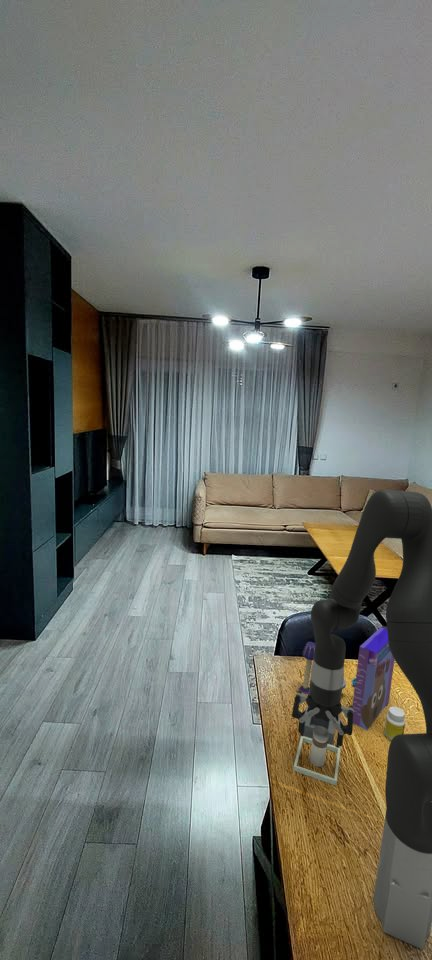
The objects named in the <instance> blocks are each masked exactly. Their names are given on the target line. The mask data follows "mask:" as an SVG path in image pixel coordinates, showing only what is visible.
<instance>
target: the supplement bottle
mask: <svg viewBox="0 0 432 960" xmlns="http://www.w3.org/2000/svg"><path fill="white" fill-rule="evenodd" d="M387 712H388V713H387V714H386V717H385V724H384V731H383V735H384V737H385V739H387V740H388V741H390V742H391V741H392V739H393V738H394V737H395V736H397V735H401V734H405V728H406V727H405V726H406V720H405V718H406V717H405V714H406V713H405V711H404V710H403V709H402V708H400V707H397V706H391V707H388V711H387Z"/></svg>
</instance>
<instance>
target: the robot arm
mask: <svg viewBox="0 0 432 960" xmlns="http://www.w3.org/2000/svg"><path fill="white" fill-rule="evenodd" d="M385 539H397V540H398V539H400V540H401V543H402V545H401V546H402V547H401V548H402V567H401V572H400V575H399V576H398V579H397V582H396V583H395V585H394V588H393V590H392V591H391V594H390V596H389V598H388V601H387V602H388V603H387V605H386V610H385V621H386V627H387V632H388V642H389V648H390V651H391V653H392V655H393V657H394V659H395V660H394V662H396V665H397V666H398V667H399V669H400V670H401V671H402V672H401V673H403V674H404V676H405V678H406V679H407V681H408V682H409V683H410V684H411V686H412V688H413V690H414V692H415V693H416V695H417V697H418V699H419V701H420V704H421V707H422V711H423V716H424V721H425V729H426V730H425V731H426V733H425V732H423V733H422V732H421V733H406V734H405V733H404V734H401V735H397V736H395V737H394V738H393V739H392V741H390V743H389V747H388V752H387V759H386V760H387V764H386V777H385V786H384V789H385V790H384V794H385V796H384V797H385V807H386V808H385V815H384V823H383V831H382V837H381V844H380V850H379V851H380V852H379V857H378V858H379V859H378V865H377V869H376V870H377V872H376V878H375V885H374V893H373V906H374V909H375V912H376V915H377V917H378V919H379V921H380V922H381V925H382V931H383V933H384V934H387V935H389V936H392V937H393V938H395V939H398V940H400V941H402V942H405V943H407V944H409V945H412V946H413V947H416V948H418V949H420V950H424V948H425V942H426V940H427V939H428V938H429V936H430V934H431V929H432V505H431V502H430V501H429V498H428V497H426V495H424V494H423V493H421V492H418V491H417V492H416V491H408V490H397V489H379V490H377V491H375V492H374V493H372V495H371V496H370V497H369V498H368V500H367V501H366V504H365V506H364V508H363V511H362V513H361V517H360V519H359V522H358V526H357V529H356V531H355V535H354V537H353V540H352V544H351V547H350V550H349V553H348V556H347V558H346V561H345V563H344V565H343V566H342V568H341V569H340V572H339V573H338V575H337V577H336V579H335V580H334V582H333V583H332V586H331V589H330V590H331V591H330V593H331V596H332V598H329V599H328V598H327V599H319V600H317V601H316V602H314V604H313V605H312V608H311V610H310V619H311V620H310V621H311V624H312V628H313V629H312V630H313V638H314V643H315V651H314V660H312V665H311V670H310V671H311V673H310V678H309V686H308V687H309V694H303V693H301V692H300V691H299V690H297V691H296V693H295V697H294V700H293V708H292V713H291V717H292V718H293V719H297V720H298V728H297V731H298V733H299V734H300V735H299V736H300V737H301V736H303V735H304V730H305V721H306V720H307V719H310V718H311V717H312V716H315V718H318V719H323V720H325V721H328V722H329V721H331V723H332V724H333V726H334V727H335V730H336V731H337V735H336V742H335V743H336V744H335V746H336V747H337V748H340V747H342V746H343V741H344V736H345V735H348V736H353V728H354V724H353V713H354V708H353V705H349V706H344V705H342V703H341V702H342V696H343V695H342V693H343V690H342V687H343V681H344V680H345V676H344V675H345V662H346V661H345V659H346V651H347V647H346V642H345V641H344V639H343V638H342V637H340V636H338V635H336V634H332V632H334V631H342V630H343V631H344V630H348V629H350V628H351V629H352V628H353V627H354V626H355V625H356V624H357V623H358V620H359V619H360V613H361V609H362V605H363V604H362V603H363V601H364V599H365V598H366V596H367V595H368V594H369V592H370V590H371V589H372V588H373V585H374V583H375V581H376V574H377V568H376V567H377V566H376V563H375V562H376V561H375V552H376V550H377V548H378V547H379V546H380V544H381V543H382V541H384V540H385ZM304 702H305V703H306V705H307V707H306V708H305V709H304V710H303V711H300V705H303V703H304ZM341 713H343V715H344V717H345V718H346V719H347V720H346V721H347V722H346V724H344V722H343V721H342V719H341V716H340V714H341Z"/></svg>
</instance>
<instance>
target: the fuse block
mask: <svg viewBox="0 0 432 960" xmlns="http://www.w3.org/2000/svg"><path fill="white" fill-rule="evenodd" d="M316 726H322V727H324V728H326V729H327V730H328V732H329V738H328V744H330V745H333V744H334V738H335V731H336V728H335V727H334V726H333V724H332V723H331V721H329V722H328V721H325V720H323V719H318V718H315V716H312V717H311V718H310V719H307V720H306V721H305V730H304V735H303V736H305V737H308V738H311V739H312V737H313V730H314V727H316ZM333 746H334V745H333Z"/></svg>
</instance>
